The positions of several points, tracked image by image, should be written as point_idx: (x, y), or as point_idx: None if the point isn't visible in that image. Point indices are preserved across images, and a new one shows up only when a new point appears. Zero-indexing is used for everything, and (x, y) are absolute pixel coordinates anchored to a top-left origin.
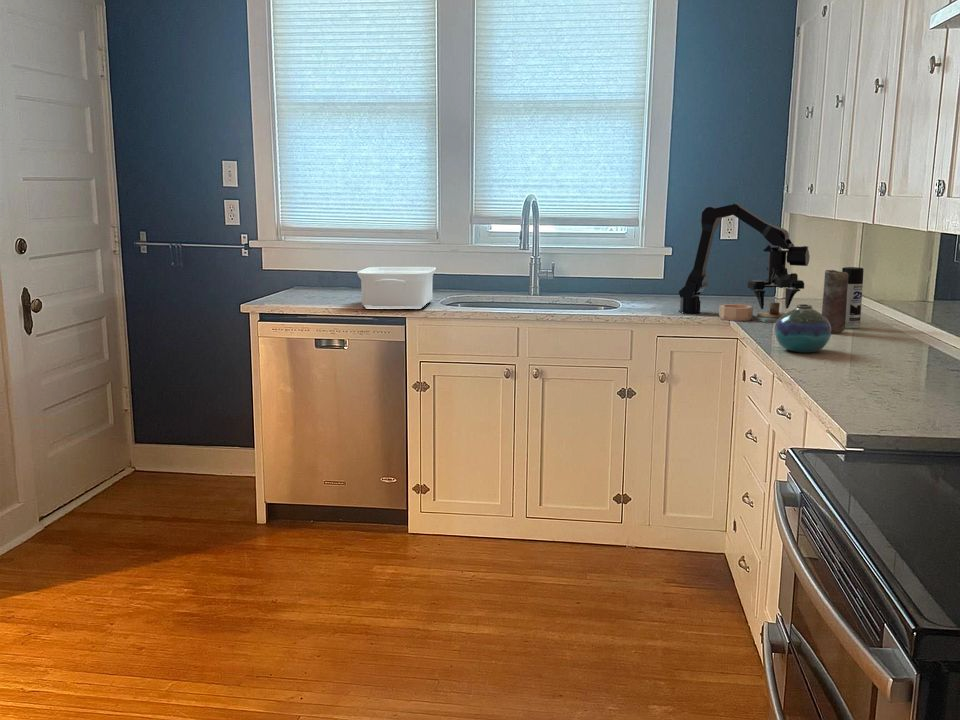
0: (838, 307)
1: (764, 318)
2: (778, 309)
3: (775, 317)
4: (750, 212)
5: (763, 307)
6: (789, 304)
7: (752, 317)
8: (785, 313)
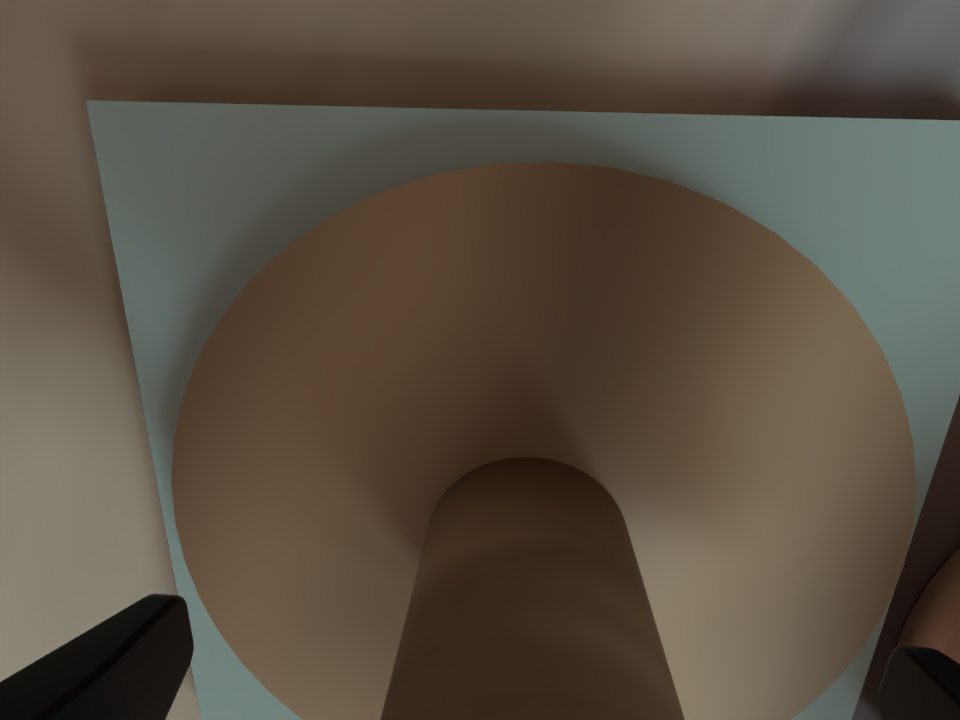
0: None
1: (924, 287)
2: (465, 543)
3: (698, 198)
4: None
5: (930, 679)
6: (32, 668)
7: None
8: (247, 576)
